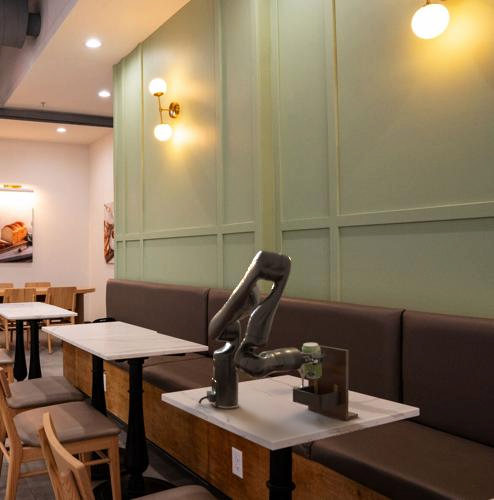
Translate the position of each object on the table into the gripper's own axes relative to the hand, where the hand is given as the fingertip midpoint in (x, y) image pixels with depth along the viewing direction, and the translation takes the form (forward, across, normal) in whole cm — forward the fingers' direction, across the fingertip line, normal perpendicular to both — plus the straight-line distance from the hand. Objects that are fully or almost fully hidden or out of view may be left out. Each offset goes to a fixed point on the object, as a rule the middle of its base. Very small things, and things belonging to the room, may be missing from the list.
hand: (316, 355), depth 178 cm
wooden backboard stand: (+4, 0, +22) cm, 22 cm away
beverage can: (-2, 0, +8) cm, 8 cm away
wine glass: (+30, +28, +22) cm, 46 cm away
